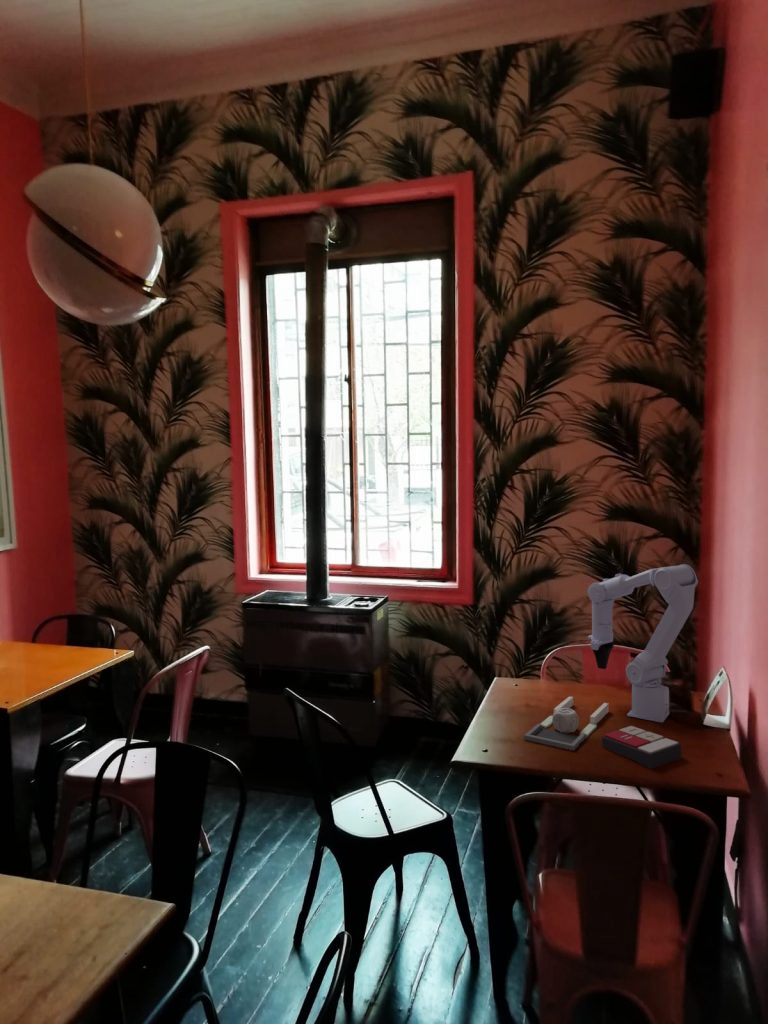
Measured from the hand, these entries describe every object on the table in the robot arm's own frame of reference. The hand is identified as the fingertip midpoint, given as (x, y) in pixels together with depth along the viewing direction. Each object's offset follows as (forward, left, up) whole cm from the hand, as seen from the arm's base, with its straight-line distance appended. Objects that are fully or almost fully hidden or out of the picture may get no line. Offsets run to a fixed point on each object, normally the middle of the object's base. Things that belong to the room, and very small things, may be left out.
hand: (602, 668), depth 209 cm
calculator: (-19, +31, -10) cm, 38 cm away
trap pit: (+1, +34, -9) cm, 35 cm away
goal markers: (+1, +25, -9) cm, 27 cm away
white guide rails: (+1, +15, -9) cm, 18 cm away
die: (+1, +27, -10) cm, 29 cm away
